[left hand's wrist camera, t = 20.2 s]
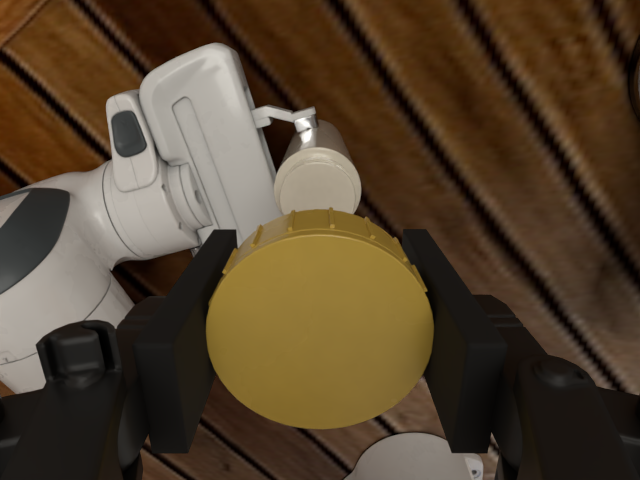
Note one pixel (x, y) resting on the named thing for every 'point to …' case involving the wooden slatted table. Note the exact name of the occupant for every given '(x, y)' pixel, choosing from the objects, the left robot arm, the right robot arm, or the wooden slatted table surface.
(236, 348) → the lid
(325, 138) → the beige cylinder
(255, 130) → the right robot arm
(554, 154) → the wooden slatted table surface
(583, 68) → the wooden slatted table surface
